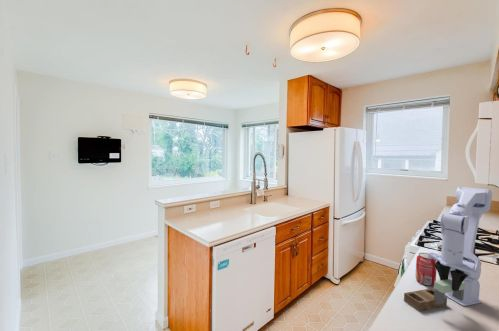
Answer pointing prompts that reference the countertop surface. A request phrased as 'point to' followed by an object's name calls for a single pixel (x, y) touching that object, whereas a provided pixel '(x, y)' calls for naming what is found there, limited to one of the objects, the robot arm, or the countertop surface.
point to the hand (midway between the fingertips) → (449, 287)
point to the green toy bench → (447, 290)
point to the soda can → (425, 269)
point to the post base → (422, 299)
